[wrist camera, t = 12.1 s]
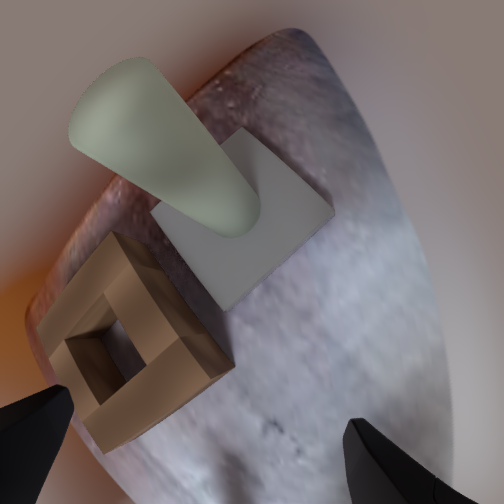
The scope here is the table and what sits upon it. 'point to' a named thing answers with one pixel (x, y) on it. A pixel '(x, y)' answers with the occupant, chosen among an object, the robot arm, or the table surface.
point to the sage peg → (162, 147)
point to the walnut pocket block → (140, 333)
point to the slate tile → (263, 232)
